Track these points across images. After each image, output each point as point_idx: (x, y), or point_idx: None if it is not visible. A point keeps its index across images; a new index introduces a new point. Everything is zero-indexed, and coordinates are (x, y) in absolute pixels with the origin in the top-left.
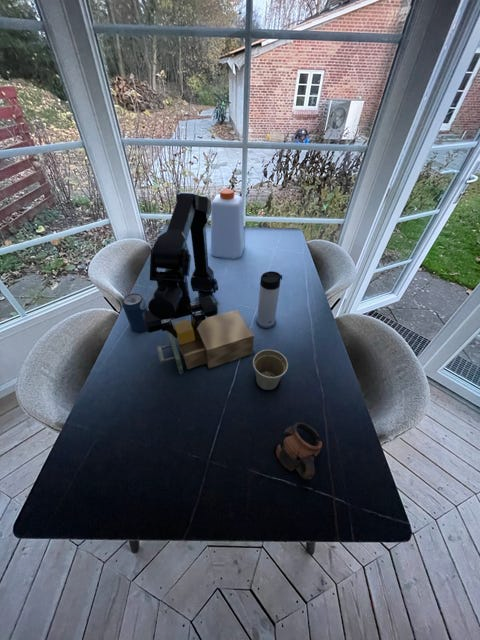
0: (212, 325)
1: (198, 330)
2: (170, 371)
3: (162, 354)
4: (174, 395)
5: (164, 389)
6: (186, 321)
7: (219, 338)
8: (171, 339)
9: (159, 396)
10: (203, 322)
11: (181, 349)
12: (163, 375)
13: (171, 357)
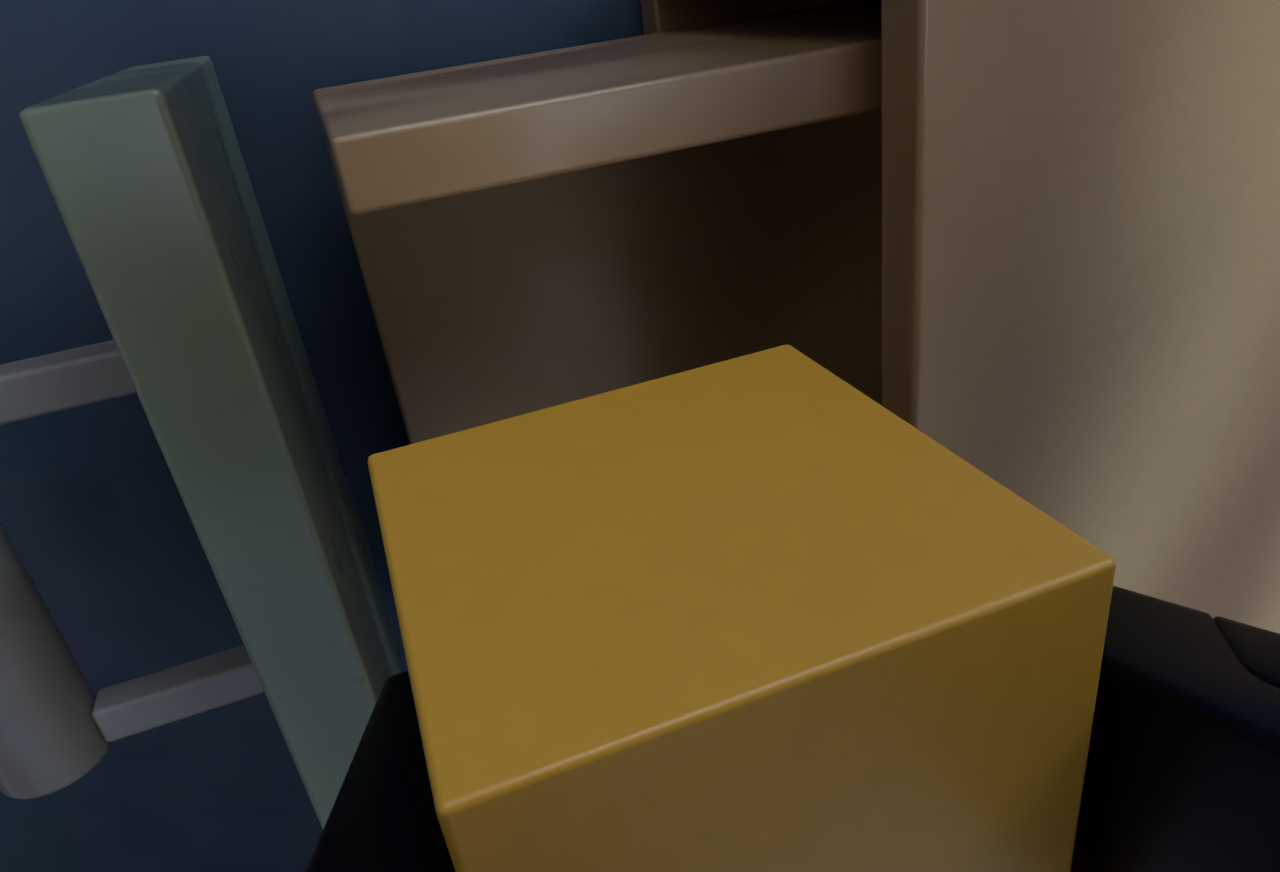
0: (1222, 205)
1: (924, 312)
2: (181, 542)
3: (8, 647)
4: (273, 839)
5: (129, 785)
6: (993, 689)
7: (1164, 562)
8: (211, 434)
9: (75, 865)
10: (1112, 40)
11: (373, 251)
12: (73, 601)
13: (229, 680)
